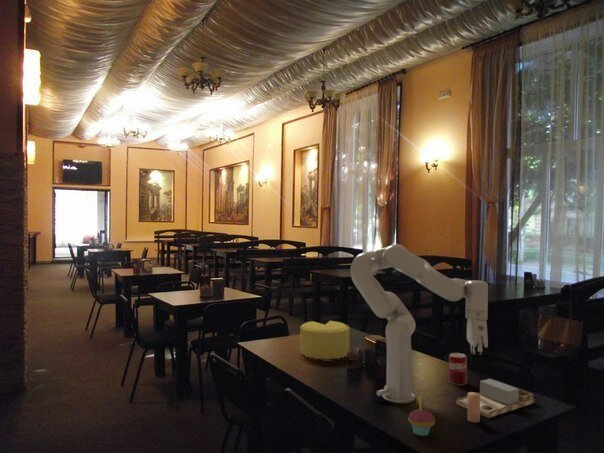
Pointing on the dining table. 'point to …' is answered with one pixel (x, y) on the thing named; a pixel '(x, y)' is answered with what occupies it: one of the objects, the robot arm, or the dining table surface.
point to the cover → (499, 391)
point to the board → (498, 404)
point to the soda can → (457, 369)
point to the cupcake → (421, 420)
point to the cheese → (325, 339)
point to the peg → (473, 407)
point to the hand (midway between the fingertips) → (475, 364)
